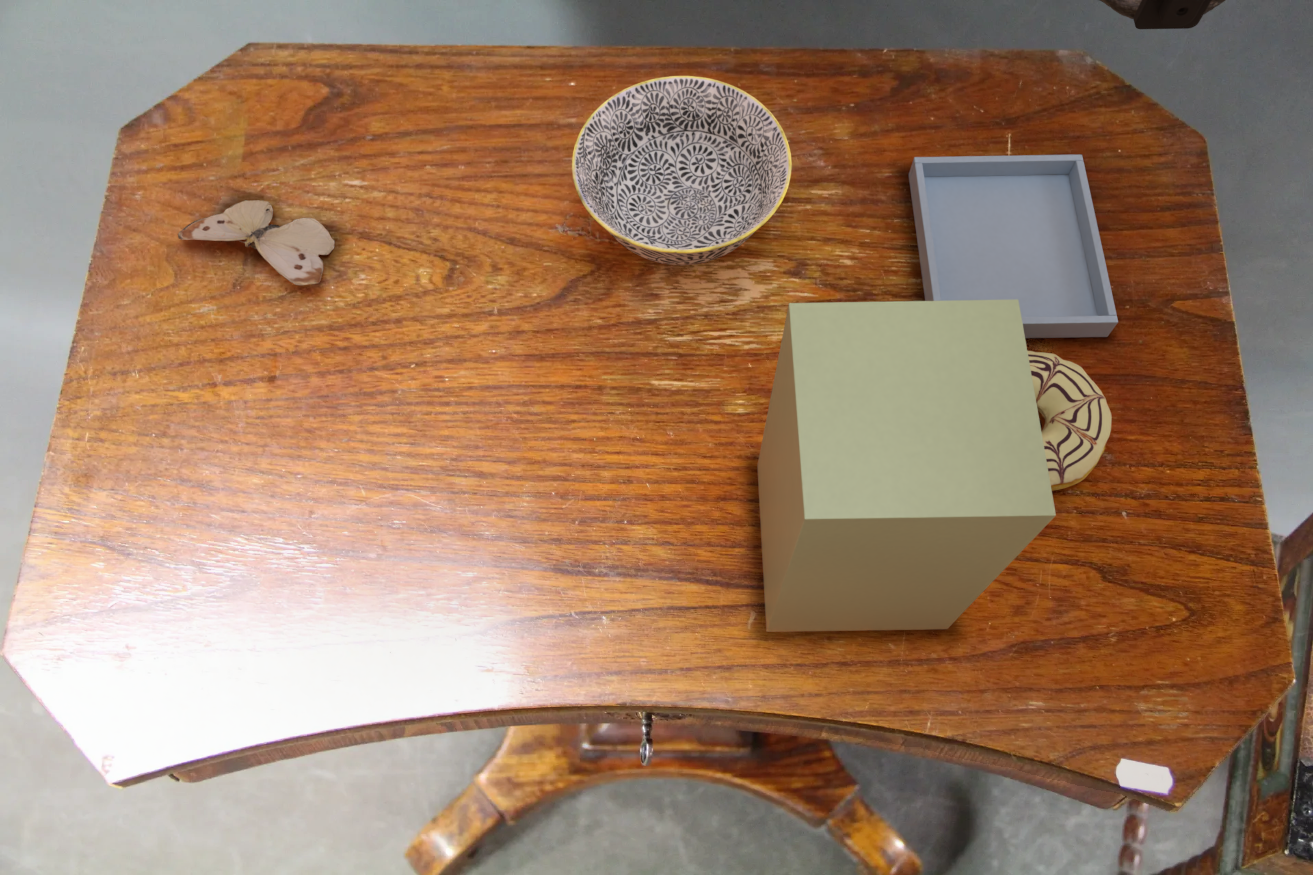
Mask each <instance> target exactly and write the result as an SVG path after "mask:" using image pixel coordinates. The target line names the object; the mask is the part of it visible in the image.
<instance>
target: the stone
mask: <svg viewBox="0 0 1313 875" xmlns="http://www.w3.org/2000/svg"><path fill="white" fill-rule="evenodd" d="M1099 1H1100V2H1102V3H1104V4H1105V5H1106V6H1107V7H1109V8H1111V9H1112V10H1113V11H1114V12H1116V13H1117V14H1119V15H1121V16H1123V17H1126V18H1129V19H1131V20H1134V19H1133V17H1134V15H1135V13H1136V11H1137V9H1138V7H1139V5H1140V3H1141V1H1142V0H1099ZM1225 2H1226V0H1211V2H1210V4H1209V6H1208V7H1207V9H1206V11H1205V13H1204V14H1203V16H1204V15H1206V14H1207V13H1209V12H1211V11H1212V10H1214V9H1215V8H1216V7H1218V6H1220V5H1221V4H1223V3H1225Z"/></svg>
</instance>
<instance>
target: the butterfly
mask: <svg viewBox="0 0 1313 875" xmlns="http://www.w3.org/2000/svg"><path fill="white" fill-rule="evenodd" d="M273 215H274V208H273V206H272V204H271V202H270V201H267V200H264V199H263V200H259V199H257V200H255V199H254V200H248V199H244V200H242V201H240V202H237V203H233V205H231V206H230V207H228V208H226V209H224V211H223V212H221V213H219V214H218V213H216V214H212V215H210V216H207V217H203V218H199V219H196V220H194V221H192V222H190V223H188V224H187V225H186V226H185V227H183V228H182V229H181V230H180V231H179V232H178V233H177V238H178V240H181V241H182V240H183V241H188V240H193V241H213V242H214V241H215V242H221V241H222V242H235V241H242V240H245V241H242V243H243V244H244V246H245V247H246V248H250V247H251V248H252V249H254V250H257V252H258V253H259V255H260V256H261V257H262V259H264V260H265V261H266V262H267V263H268V264H269V265H270V266H271V267H272V268H273V269H274V270H275V271H276V272H277V273H278V275H281V276H282V277H283V278H285V279H286V280H287V281H289V282H290V283H291V284H293V285H295V286H308V285H317V284H320V282H321V280H322V276H323V273H324V261H323V259H322V258H321V257H319V256H320V255H321V256H327V255H330V253H332V251H334V249H335V244H336V240H335V239H333V238H332V236H331V235H330V234H331V233H329V230H328V229H326V228H325V226H324V225H323V224H322V223H321V222H320V221H318V220H317V219H315V218H312V217H301V218H295V219H293V221H290V222H287V223H285V224H283V225H281V226H280V225H278V224H275V223H273V224H272V223H271V221H272V219H273ZM270 223H271V224H270Z"/></svg>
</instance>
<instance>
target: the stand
mask: <svg viewBox="0 0 1313 875" xmlns="http://www.w3.org/2000/svg"><path fill="white" fill-rule="evenodd" d="M1026 340H1027V339H1026V338H1025V334H1024V329H1023V323H1022V317H1021V311H1020V306H1019V300H1018V299H1016V300H953V301H925V300H902V301H901V300H900V301H899V300H897V301H896V300H894V301H841V302H839V301H838V302H836V301H835V302H833V301H832V302H831V301H830V302H789V303H788V306H787V311H786V316H785V321H784V327H783V332H782V337H781V342H780V346H779V352H778V358H777V363H776V367H775V372H774V376H773V377H774V378H773V382H772V388H771V393H770V398H769V403H768V409H767V412H766V413H767V415H766V420H765V423H764V428H763V435H762V439H761V445H760V451H759V455H758V459H757V460H758V461H757V465H756V466H757V468H756V469H757V483H758V484H757V485H758V505H759V520H760V538H761V539H760V540H761V541H760V542H761V560H762V575H763V577H762V578H763V593H764V594H763V595H764V614H765V631H766V633H768V632H769V633H778V632H779V633H783V632H784V633H785V632H787V633H788V632H789V633H790V632H848V631H849V632H852V631H856V632H857V631H917V630H918V631H921V630H923V631H924V630H928V631H929V630H948V629H949V628H950V627H951V626H952V625H953V624H954V623H955V622H956V621H957V620H958V618H960V617H961V615H963V614H964V612H965V611H967V609H968V608H969V607H970V606H971V605H972V604H973V603H974V602H975V601H976V600H977V599H978V598H979V596H981V595H982V594H983V592H984V591H985V590H986V589H988V588H989V586H990V585H991V584H992V583H993V582H994V581H995V580H996V579H997V578H998V577H999V576H1000V574H1002V573H1003V572H1004V571H1005V570H1006V569H1007V567H1008V566H1010V564H1012V562H1013V561H1014V560H1015V559H1016V558H1017V557H1018V556H1019V555H1020V554H1021V553H1022V552H1023V551H1024V550H1025V549H1026V548H1027V546H1028V545H1030V543H1031V542H1032V541H1033V540H1034V539H1035V538H1036V537H1037V536H1038V535H1039V534H1040V533H1041V532H1042V531H1043V530H1044V529H1045V527H1046V526H1047V525H1049V524H1050V523H1051V521H1052V520H1053V519H1054V518H1056V516H1057V514H1056V507H1055V502H1054V495H1053V491H1052V490H1051V484H1050V478H1049V472H1048V467H1047V461H1046V455H1045V449H1044V444H1043V438H1042V432H1041V429H1042V425H1041V420H1040V419H1039V415H1038V409H1037V403H1036V398H1035V392H1034V386H1033V380H1032V375H1031V369H1030V363H1029V357H1028V352H1027V351H1028V347H1027V341H1026Z"/></svg>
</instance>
